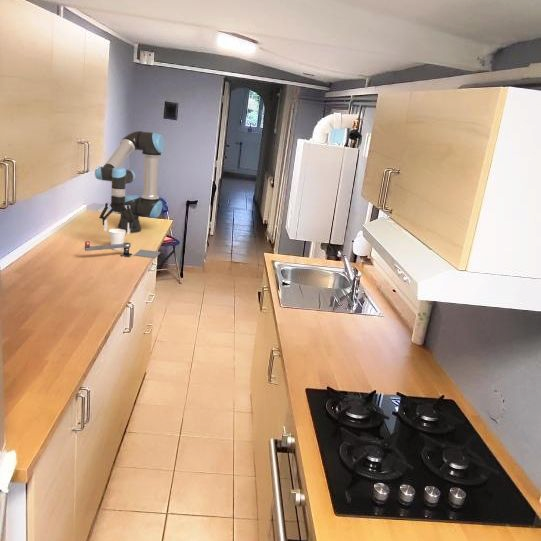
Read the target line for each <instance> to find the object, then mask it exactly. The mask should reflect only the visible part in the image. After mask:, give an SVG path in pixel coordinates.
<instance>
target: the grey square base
mask: <svg viewBox="0 0 541 541" xmlns="http://www.w3.org/2000/svg"><path fill="white" fill-rule="evenodd" d="M119 256H120V257H123V256H124V257H125V258H131V257H132V256H133V253H130V248H123V252H122V253H121V254H120V255H119Z"/></svg>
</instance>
